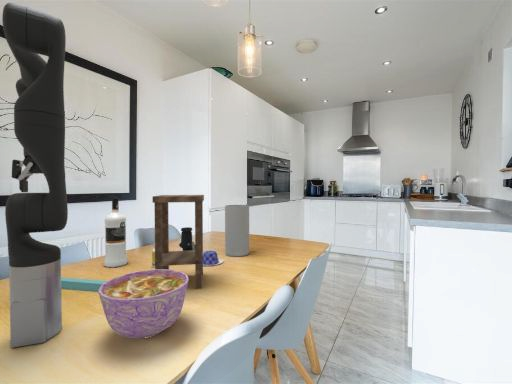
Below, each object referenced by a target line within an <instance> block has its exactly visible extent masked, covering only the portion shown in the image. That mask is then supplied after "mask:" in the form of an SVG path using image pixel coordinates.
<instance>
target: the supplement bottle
mask: <svg viewBox="0 0 512 384" xmlns="http://www.w3.org/2000/svg"><path fill="white" fill-rule="evenodd" d="M153 247H154V248H153V249H152V250H151V252H152V253H151V254H152V255H151V267H153V268H155V243H153Z"/></svg>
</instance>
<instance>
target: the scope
mask: <svg viewBox="0 0 512 384" xmlns="http://www.w3.org/2000/svg"><path fill="white" fill-rule="evenodd" d="M180 231H181V234H180V235H181V237H180V238H181V239H180V243H179V244H178V246H179V248H181V249H182V251H191V250H195V241H193V232H192V231H193V228H192V227H190V226H189V227H187V226H186V227H181V228H180Z"/></svg>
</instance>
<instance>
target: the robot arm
mask: <svg viewBox="0 0 512 384" xmlns="http://www.w3.org/2000/svg"><path fill="white" fill-rule="evenodd" d="M1 17H2V30H3V34H4V37H5V41H6V43H7V44H8V47H9V49H10V51H11V52H12V54H13V55H12V56H14V58H15V60H16V62H17V64H18V67H19V71H20V77H21V78H19V79H18V80H17V81H16V83H15V90H16V94H17V95H18V97H17V99H16V101H15V102H14V106H13V128H14V129H13V131H14V132H13V133H14V136H15V137H16V139H17V141H18V143H20V145H21V146H22V148H23V149H22V150H23V157H24V159H23V160H20V159H13V160H12V161H11V178H12V179H15V180H18V182H19V185H18V187H19V191H20V192H16V193H15V192H14V193H12V194H10V195H9V197H8V198H7V200H6V203H5V210H4V211H5V212H4V213H5V214H4V215H5V225H6V235H7V253H8V254H7V255H8V271H9V272H8V273H9V274H8V276H9V279H8V280H9V281H8V282H9V283H8V285H9V286H8V287H9V325H10V326H9V327H10V328H9V330H10V336H9V337H10V348H11V349H12V348H17V347H18V348H20V347H24V346H31V345H37V344H43V343H46V342H47V341H48V340H49V339H51V338H54V337H55V336H56V335H57V334H59V333H60V332H61V331H62V328H63V319H62V318H63V317H62V316H63V314H62V313H63V312H62V311H63V310H62V308H63V307H62V289H61V277H62V251H61V248H60V246H57V245H55V244H52V243H51V244H50V243H46V242H42V241H39V240H37V239H35V238H33V237H32V236H31V234H32V233H47V232H58V231H62V230H64V229H65V227H66V226H67V223H68V217H69V216H68V214H69V213H68V212H69V211H68V196H67V195H68V194H67V184H66V182H67V181H66V167H65V155H66V154H65V152H66V151H65V149H66V114H65V113H66V111H65V92H64V91H65V90H64V85H65V83H64V82H65V81H64V79H65V78H64V77H65V62H66V61H65V60H66V44H67V43H66V41H67V40H66V39H67V38H66V28H65V25H64V22H63V20H61V19H60V18H59V17H58V16H55V15H53V14H50V13H48V12H44V11H42V10H38V9H35V8H32V7H28V6H26V5H23V4H19V3H14V2H8V3H6V4H5V5H4V6H3V9H2V15H1ZM42 56H46V57H48V58H47V61H46V60H45V59H44V58H43V57H42ZM23 167H24V169H23ZM34 174H35V175H37V174H43V176H44V177H45V181H46V183H47V186H48V192H29V181H28V179H29V178H30V177H31V176H33V175H34Z"/></svg>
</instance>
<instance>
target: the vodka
mask: <svg viewBox="0 0 512 384" xmlns="http://www.w3.org/2000/svg"><path fill="white" fill-rule="evenodd" d="M119 205H120V204H119V197H112V198H111V212H110V213H109V214H108V215H107V216H105V218H104V227H105V229H104V230H105V243H104V245H105V246H104V247H105V254H104V261H103V265H104V267H106V268H118V267H122V266H123V267H124V266H125V265H126V264H127V263H128V256H127V255H128V254H127V241H126V240H127V235H126V234H127V232H126V231H127V230H126V229H127V228H126V226H127V224H126V223H127V218H126V216H125V215H124V214H122V213H121V212H120V210H119V207H120V206H119Z"/></svg>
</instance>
